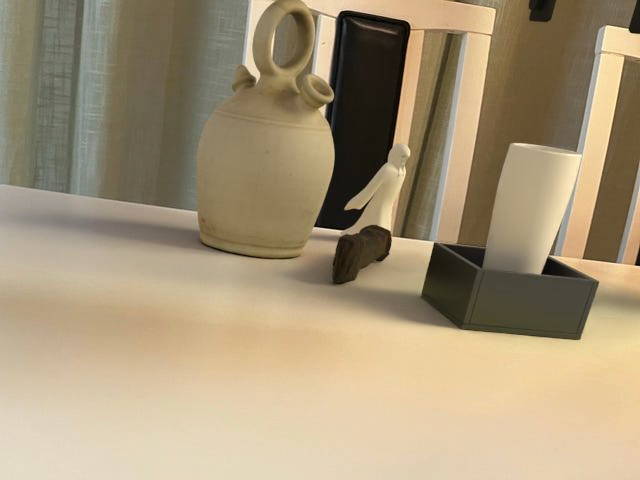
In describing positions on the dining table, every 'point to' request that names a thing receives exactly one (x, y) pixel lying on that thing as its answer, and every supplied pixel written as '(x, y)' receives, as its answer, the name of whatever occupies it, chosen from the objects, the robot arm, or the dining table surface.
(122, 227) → the dining table surface
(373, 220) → the figurine
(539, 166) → the drinking glass
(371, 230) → the rough brown chunk
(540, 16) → the robot arm
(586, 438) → the dining table surface
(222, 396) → the dining table surface
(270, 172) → the jug
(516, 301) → the bin
